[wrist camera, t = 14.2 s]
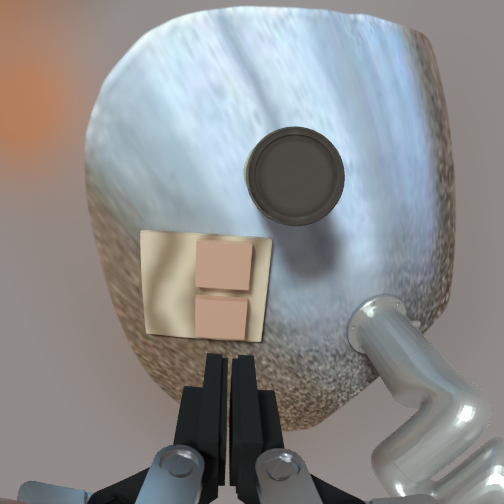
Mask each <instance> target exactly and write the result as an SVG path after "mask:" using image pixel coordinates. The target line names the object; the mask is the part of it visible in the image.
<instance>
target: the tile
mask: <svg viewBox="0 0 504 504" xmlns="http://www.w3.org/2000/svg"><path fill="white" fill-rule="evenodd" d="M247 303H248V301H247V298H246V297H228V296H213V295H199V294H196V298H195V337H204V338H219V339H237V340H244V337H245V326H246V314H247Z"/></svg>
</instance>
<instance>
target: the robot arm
mask: <svg viewBox="0 0 504 504" xmlns="http://www.w3.org/2000/svg"><path fill="white" fill-rule="evenodd" d="M419 326H420V321H418V320H417V321H411V320H410V319H409V318H408V317H407V312H406V308H405V306H404V304H403V303H402V302H401V301H400V300H399V299H398V298H396V297H394V296H392V295H379V296H375V297H373V298H371V299H369V300H367V301H365V302H364V303H363V304H362V305H360V306H359V307H358V309H357V310H356V311H355V312H354V314H353V315H352V317H351V319H350V321H349V324H348V327H347V338H348V341H349V343H350V344H351V346H352V347H353V348H354V349H355V350H356V351H357V352H360V353H363V354H367V356H368V357H369V359H370V361H371V362H372V364H373V365H374V367H375V369H376V370H377V372H378V373H379V375H380V377H381V378H382V380H383V382H384V383H385V384H386V386H387V388H388V390H389V391H390V393H391V394H392V396H393V397H394V399H395V400H396V401H397V402H398V403H400V404H401V405H403V406H407V407H411V408H417V409H418V408H419V410H418V411H417V412H416V413H415V414H414V415H413V416H412V417H411V418H410V419H409V420H408V421H406V422H405V423H404V424H403V425H402V426H401V427H399V428H398V429H397V430H396V431H395V432H393V433H392V434H391V435H390V436H388V437H387V438H386V439H385V440H383V441H382V442H381V443H380V444H379V445H378V446H377V447H376V448H375V449H374V451H373V453H372V455H371V465H372V469H373V471H374V473H375V475H376V477H377V478H378V480H379V482H380V483H381V484H382V486H383V487H384V488H385V490H386V491H387V492H388V494H389V495H390V496H391V498H378V499H372V500H371V501H362V500H361V499H359V498H357V497H355V496H352V495H350V494H348V493H346V492H344V491H342V490H340V489H338V488H336V487H334V486H332V485H330V484H328V483H326V482H324V481H323V480H321V479H319V478H317V477H315V476H313V475H312V474H310V473H309V471H308V469H307V466H306V464H305V462H304V460H303V459H302V457H301V456H300V455H298V454H297V453H296V452H293V451H291V450H289V449H285V448H284V443H283V437H282V431H281V425H280V419H279V414H278V408H277V402H276V396H275V392H274V390H257V382H256V372H255V363H254V356H253V355H238V359H232V375H231V391H230V408H229V470H230V472H229V473H230V486H236V493H237V494H238V499H239V500H241V501H242V502H244V503H245V504H504V438H501V437H496V438H493V439H491V440H489V441H488V442H486V443H485V444H484V445H482V446H481V447H480V448H479V449H477V450H476V451H475V452H474V453H473V454H472V455H470V456H469V457H468V458H467V459H466V460H464V461H463V462H462V463H461V464H460V465H459V466H457V467H456V468H455V469H453V470H452V471H451V472H450V473H448V474H447V475H446V476H444V477H443V478H442V479H440V480H439V481H432V480H431V479H430V478H431V477H433V476H434V475H435V474H437V473H438V472H439V471H440V470H442V469H443V468H444V467H446V466H447V465H449V464H450V463H451V462H453V461H454V460H455V459H456V458H457V457H459V456H460V455H461V454H462V453H463V452H464V451H465V450H467V449H468V448H469V447H470V446H471V445H472V444H473V443H474V442H475V441H476V440H477V439H478V438H479V437H480V436H481V435H482V433H483V432H484V431H485V429H486V428H487V426H488V424H489V422H490V420H491V417H492V411H493V410H492V404H491V401H490V399H489V398H488V397H487V396H486V394H485V393H484V392H483V391H482V390H481V389H480V388H478V387H477V386H476V385H475V384H473V383H472V382H471V381H469V380H468V379H467V378H465V377H464V376H463V375H461V374H460V373H459V372H458V371H457V370H456V369H455V368H454V367H452V365H450V363H449V362H447V360H446V359H444V357H443V356H442V355H441V354H440V353H439V352H438V351H437V350H436V349H435V348H434V347H433V346H432V345H431V343H430V342H429V341H428V340H427V339H426V338H425V337H424V336H423V335H422V334H421V331H420V330H417V329H416V328H418V327H419ZM227 373H228V358H222V354H214V353H207V358H206V366H205V374H204V383H203V388H202V387H190V386H184V389H183V393H182V399H181V404H180V410H179V415H178V420H177V426H176V432H175V438H174V443H173V445H169V446H167V447H164V448H162V449H161V450H160V451H158V452H157V454H156V455H155V457H154V459H153V462H152V464H151V466H150V467H149V468H147V469H145V470H143V471H141V472H139V473H137V474H135V475H133V476H131V477H129V478H126V479H124V480H122V481H120V482H118V483H116V484H113V485H111V486H109V487H106V488H104V489H102V490H99V491H97V492H95V493H89V492H86V491H85V490H81V489H74V488H68V487H62V486H56V485H51V484H46V483H41V482H37V481H28V482H25V483H24V484H22V485H21V486H20V488H19V491H18V497H17V501H16V500H12V499H6V498H0V504H209V503H210V502H212V501H213V500H215V499H216V498H218V486H224V485H225V464H226V440H227V439H226V438H227Z"/></svg>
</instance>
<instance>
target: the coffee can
mask: <svg viewBox="0 0 504 504" xmlns="http://www.w3.org/2000/svg"><path fill="white" fill-rule="evenodd" d="M244 179H245V183H246V185H247V188H248V191H249V194H250V196H251V199H252V200H253V202H254V204H255V205H256V206H257V208H258V209H259V210H260V211H261V212H262V213H263V214H264V215H265V216H267V217H268V218H270V219H271V220H273V221H275V222H278V223H280V224H284V225H289V226H303V225H308V224H311V223H314V222H316V221H319V220H320V219H322V218H323V217H325V216H326V215H327V214H329V213H330V212H331V211H332V209H333V208H334V207H335V206H336V204H337V203H338V201H339V199H340V197H341V195H342V192H343V188H344V181H345V174H344V166H343V162H342V159H341V157H340V155H339V153H338V151H337V149H336V148H335V147H334V145H333V144H332V143H331V142H330V141H329V140H328V139H327V138H326V137H324V136H323V135H321V134H320V133H318V132H316V131H314V130H311V129H308V128H304V127H285V128H281V129H278V130H276V131H274V132H271V133H270V134H268V135H267V136H265V137H264V138H263V139H262V140H261V141H260V142H259V143H258V144H257V145H256V147H255V148H253V150H252V151H251V152H250V153H249V155H248V157H247V159H246V162H245V166H244Z"/></svg>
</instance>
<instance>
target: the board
mask: <svg viewBox="0 0 504 504" xmlns="http://www.w3.org/2000/svg"><path fill="white" fill-rule="evenodd" d="M140 238H141V271H142V289H143V303H144V315H145V326H146V333H148V334H157V335H166V336H176V337H187V338H199V339H213V340H229V341H251V342H261V336H262V328H263V320H264V311H265V302H266V294H267V285H268V276H269V267H270V258H271V248H272V238H263V237H249V236H234V235H218V234H202V233H186V232H169V231H151V230H142V231H141V232H140ZM197 239H209V240H225V241H240V242H252V245H253V246H252V257H251V269H250V280H249V290H236V289H220V288H205V287H195V276H196V241H197ZM196 294H199V295H213V296H228V297H246V298H247V301H248V303H247V314H246V326H245V337H244V340H237V339H219V338H204V337H195V298H196Z"/></svg>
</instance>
